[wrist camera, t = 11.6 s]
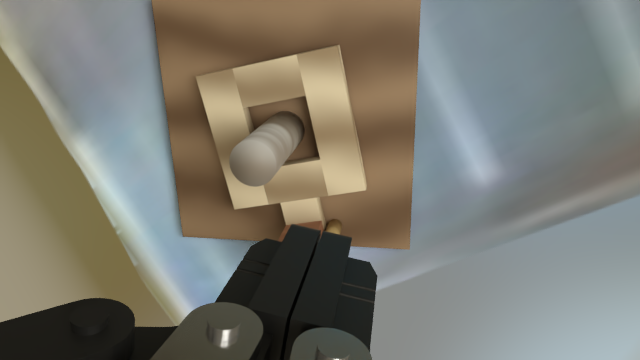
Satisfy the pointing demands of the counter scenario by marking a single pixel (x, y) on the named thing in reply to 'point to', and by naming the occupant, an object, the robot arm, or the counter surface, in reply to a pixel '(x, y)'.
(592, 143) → the counter surface
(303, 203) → the square frame with handle
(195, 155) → the post base
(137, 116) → the counter surface
